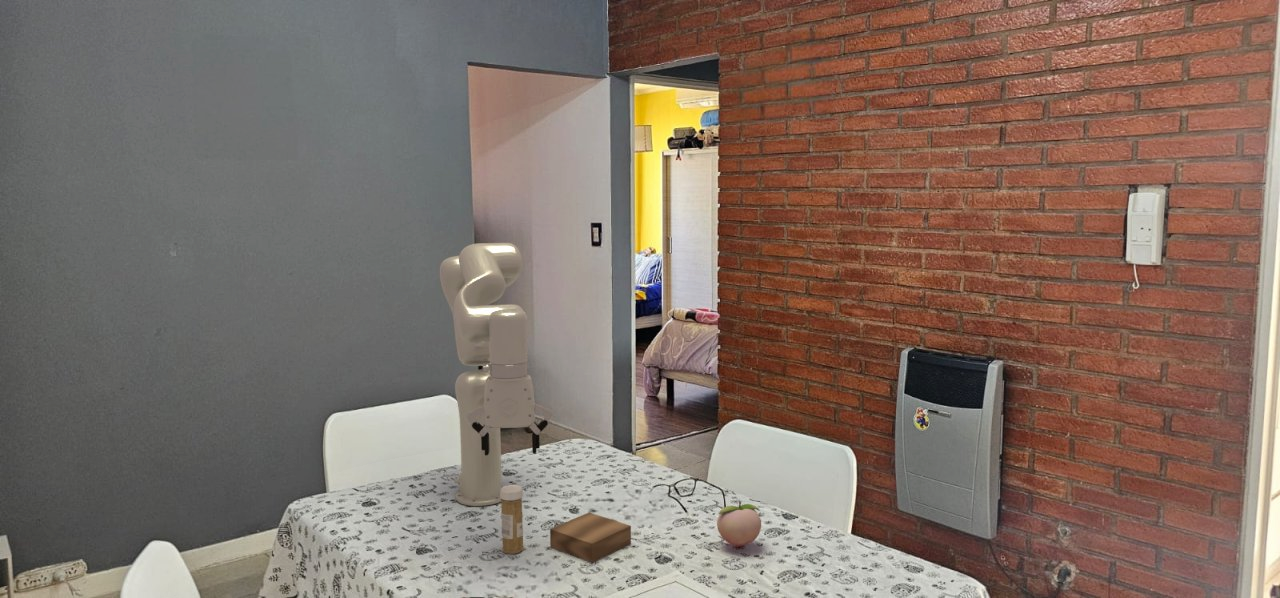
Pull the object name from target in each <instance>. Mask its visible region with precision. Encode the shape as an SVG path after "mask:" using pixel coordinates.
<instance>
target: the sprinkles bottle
mask: <svg viewBox="0 0 1280 598" xmlns="http://www.w3.org/2000/svg"><path fill="white" fill-rule="evenodd" d="M523 491H524V490H523V487H522V486H520V485H517V484H508V485H505V486H503V487H502V488H501V489H500V498H501V502H500V503H501V509H500V510H501V516H500V517H501V519H500V521H501V536H502V538H501V540H502V542H501V543H502V547H501V550H502V552H503V553H505V554H509V555H515V554H519V553H521V552H523V550H524V535H523V534H524V526H523V525H524V524H523V523H524V522H523V500H522V499H523V495H524V494H523Z"/></svg>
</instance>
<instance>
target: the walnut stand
mask: <svg viewBox="0 0 1280 598" xmlns="http://www.w3.org/2000/svg"><path fill="white" fill-rule="evenodd" d="M549 540H550V543H549V544H550V548H551V549H554V550H557V551H559V552H562V553H565V554H567V555H571V556H573V557H576V558H578V559H581V560H583V561H586V562H589V563H590V564H591V563H592V564H593V563H595V562H598V561H599V560H601V559H603V558H605V557H608V556H610V555H611V554H613V553H615V552H617V551H619V550H622V549H623V548H625V547H628V546H630V545H631V544H632V526H631V525H629V524H626V523H623V522H621V521H620V522H619V521H617V520H614V519H611V518H608V517H605V516H601V515H599V514H596V513H593V512H587V513H584V514H582V515H580V516H578V517H576V518H572V519H571V520H568V521H566V522H563V523H561V524H559V525H556V526H554V527H551V528H549Z"/></svg>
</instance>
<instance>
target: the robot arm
mask: <svg viewBox="0 0 1280 598" xmlns="http://www.w3.org/2000/svg"><path fill="white" fill-rule="evenodd" d="M522 257H523V256H522V254H521V251H520V250H519V248H518V247H517V245H515V244H513V243H511V242H487V243H485V242H483V243H480V242H479V243H472V244H469V245H467V246H464V248H463V249H461V251H460V253H459V255H455V256H449V257H448V258H445V259H444V260H443V261H442V262H441V264H440V267H439V278H440V279H439V281H440V284H441V288H442V292H443V295H444V296H445V299H446V301H447V303H448V306H449V308H450V310H451V313H452V318H453V325H454V327H453V328H454V336H455V344H456V345H455V346H456V352H457V357H458V359H459V361H460V363H461V364H462V365H463V366H466V367H467V366H468V367H481V366H482V368H481V369H474V370H472V369H471V370H468V371H465V372H463V373H461V374H460V375H459V376H458V377H456V380H455V384H454V390H455V391H454V392H455V397H456V402H457V409H458V413H459V415H458V416H459V417H458V418H459V429H460V432H459V434H460V435H459V436H460V465H461V466H460V467H461V469H460V470H461V473H460V474H459V475H458V477H456V478H454V483H456V484H457V485H459V490H457V491H456V493H455V500H456V502H457V503H459V504H461V505H464V506H469V507H471V506H472V507H484V506H491V505H492V506H493V505H495V504H499V503H501V498H500V489H501V488H502V487H504V486H503V485H502V481H503V480H502V452H501V451H502V448H501V447H502V445H501V444H502V443H501V429H513V428H529V429H530V430H531V431H532V434H531V442H532V445H531V446H532V450H531V451H532V452H531V453H532V454H534V455H535V454H537V450H538V449H539V450H540V445H541V444H540V442H541V441H540V434H541V432H542V431H543V430H544V429H546V428H547V426H548V424H549V423H550V420H551V419H552V417H553V414H554V413H553V410H551V409H549V408H547V407H545V406H542V405H540V404H538V403H536V402H535V393H534V392H535V391H534V385H533V379H532V377H531V375H529V374H528V336H527V333H528V331H527V328H528V318H527V314H526V311H524V309H523V308H522V307H521V306H520V305H518V304H514V303H513V304H494V303H495V302H496V301H498V300H499V299H500V298H501V297H502V296H503V295H504V293H505V291H506V288H508V287H510V286H511V285H512V284H514V282H516V280H517V279H518V278H519V277H520V276H521V273H522V270H523V258H522ZM536 412H537V413H538V414H541V415H543V416H544V417H543V419H542V420H541V421H540V422H539V423H537V421H536Z"/></svg>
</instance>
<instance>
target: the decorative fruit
mask: <svg viewBox="0 0 1280 598" xmlns="http://www.w3.org/2000/svg"><path fill="white" fill-rule="evenodd" d="M756 510H757V511H760V509H759V507H758V506H756V505H754V504H750V503H746V504H745V503H744V504H742V502H741V501H738V505H737V506H736V505H735V506H734V505H727V506H726V507H723V508H722V509H721V510H720V511H719V512H718V513H717V515H718V518H717V521H716V526H717V530H718V533H719V534H720V536H721V538H722V539H723V541H725V542H726V543H728V544H729V545H731V546H734V547H736V548H739V547H740V546H741V547H742V546H746V545H749V544H751V543H752V542H754V541H755V540H756V539H757V538H758V537H759V534H760V532H761V528H762V520H761V517H760V515H759V514H758V512H757V511H756ZM741 547H740V548H741Z"/></svg>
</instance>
